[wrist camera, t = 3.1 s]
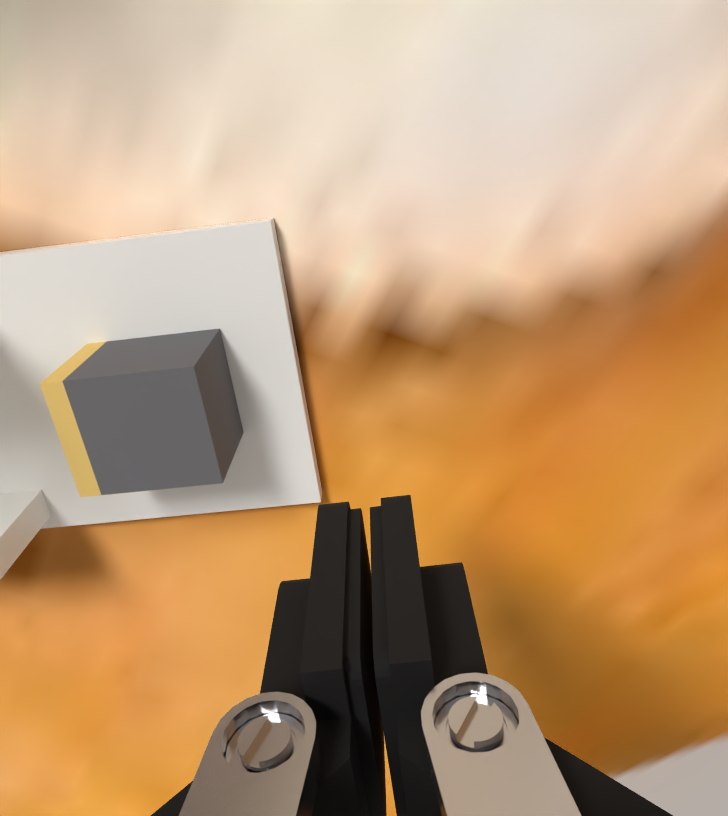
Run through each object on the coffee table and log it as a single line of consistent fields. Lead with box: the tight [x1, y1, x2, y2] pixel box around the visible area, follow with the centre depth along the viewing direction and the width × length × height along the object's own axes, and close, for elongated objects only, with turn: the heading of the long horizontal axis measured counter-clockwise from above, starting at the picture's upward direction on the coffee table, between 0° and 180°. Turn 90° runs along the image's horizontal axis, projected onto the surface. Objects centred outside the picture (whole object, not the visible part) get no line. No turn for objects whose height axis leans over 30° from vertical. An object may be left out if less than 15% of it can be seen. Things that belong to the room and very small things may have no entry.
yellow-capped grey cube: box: [40, 328, 244, 497], centre depth 19 cm, size 4×3×3 cm
